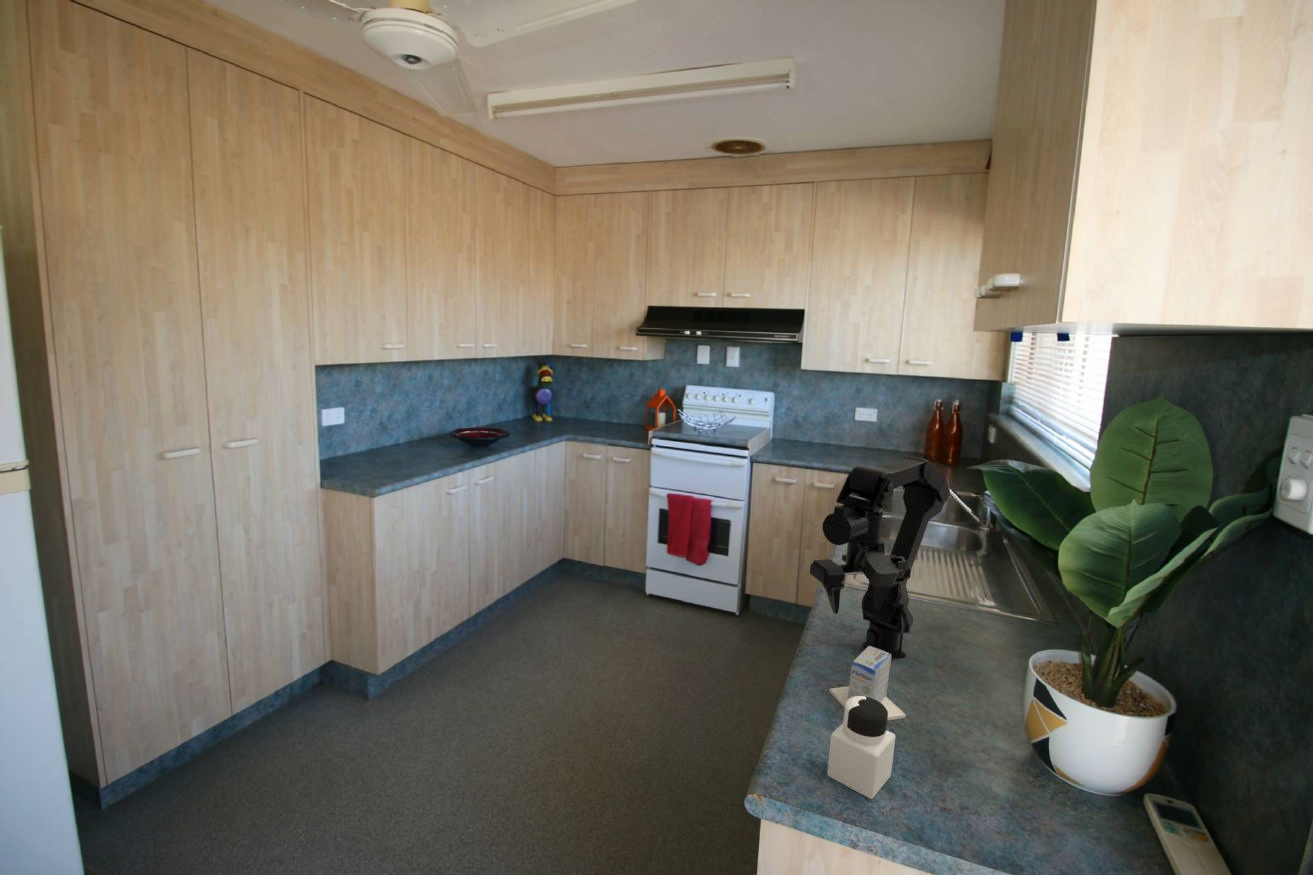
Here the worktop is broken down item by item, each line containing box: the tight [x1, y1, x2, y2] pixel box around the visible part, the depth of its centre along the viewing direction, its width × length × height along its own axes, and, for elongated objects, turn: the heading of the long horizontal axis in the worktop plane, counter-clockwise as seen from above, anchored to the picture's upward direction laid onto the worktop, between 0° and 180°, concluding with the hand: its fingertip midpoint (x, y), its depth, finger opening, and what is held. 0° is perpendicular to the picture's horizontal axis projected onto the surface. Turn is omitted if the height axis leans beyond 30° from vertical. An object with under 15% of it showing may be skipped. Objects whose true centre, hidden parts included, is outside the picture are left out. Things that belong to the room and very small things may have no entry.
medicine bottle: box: [826, 696, 896, 800], centre depth 94 cm, size 7×7×12 cm
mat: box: [829, 685, 907, 722], centre depth 114 cm, size 9×10×1 cm
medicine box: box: [848, 646, 892, 702], centre depth 113 cm, size 8×4×9 cm, turn 141°
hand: (856, 611), depth 122 cm, fingers open, 9 cm apart
